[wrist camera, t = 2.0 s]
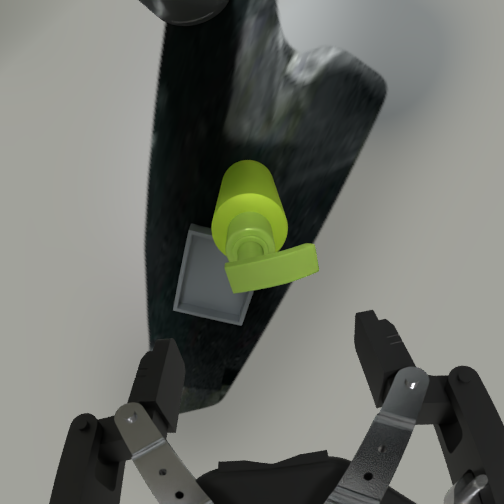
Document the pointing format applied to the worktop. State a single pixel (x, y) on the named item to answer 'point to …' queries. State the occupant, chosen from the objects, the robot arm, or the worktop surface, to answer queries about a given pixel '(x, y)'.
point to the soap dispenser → (256, 231)
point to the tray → (208, 281)
